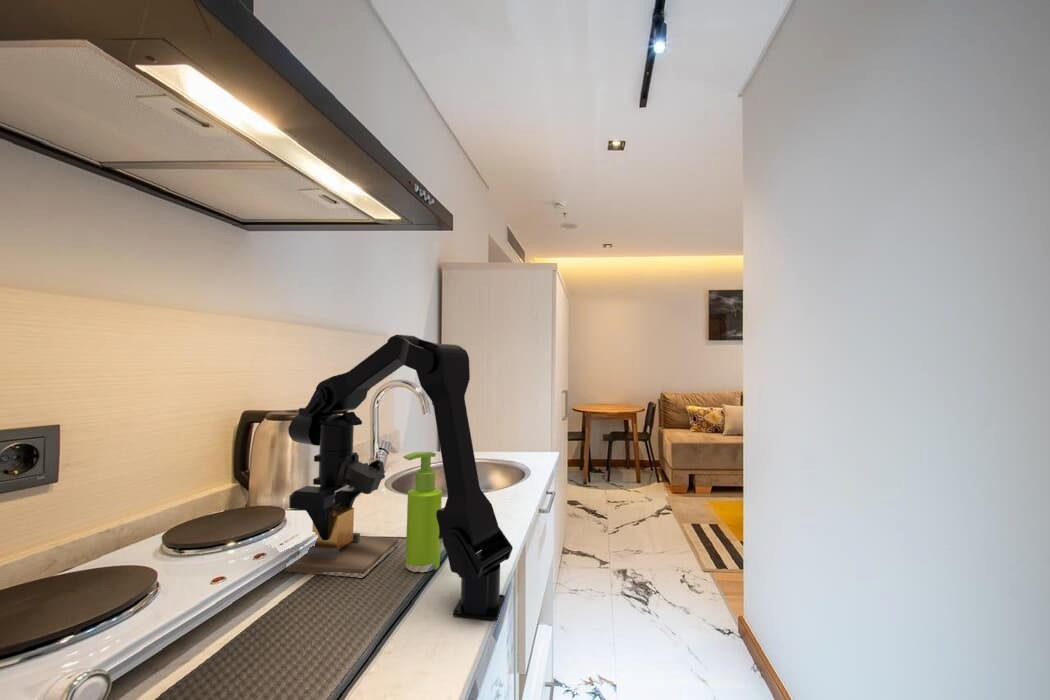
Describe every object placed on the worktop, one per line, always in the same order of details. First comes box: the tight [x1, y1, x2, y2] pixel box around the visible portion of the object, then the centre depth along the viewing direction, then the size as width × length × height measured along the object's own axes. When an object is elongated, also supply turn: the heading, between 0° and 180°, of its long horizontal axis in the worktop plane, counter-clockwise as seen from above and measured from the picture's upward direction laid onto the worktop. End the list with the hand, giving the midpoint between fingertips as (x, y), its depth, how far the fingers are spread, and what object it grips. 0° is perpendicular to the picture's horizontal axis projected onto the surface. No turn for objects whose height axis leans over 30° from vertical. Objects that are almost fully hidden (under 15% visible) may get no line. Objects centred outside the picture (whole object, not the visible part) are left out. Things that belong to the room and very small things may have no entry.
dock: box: [284, 532, 399, 575], centre depth 87 cm, size 14×14×3 cm
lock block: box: [311, 506, 355, 549], centre depth 87 cm, size 5×5×6 cm
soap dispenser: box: [403, 451, 443, 571], centre depth 84 cm, size 6×7×20 cm
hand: (333, 534), depth 87 cm, fingers closed on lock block, 5 cm apart
